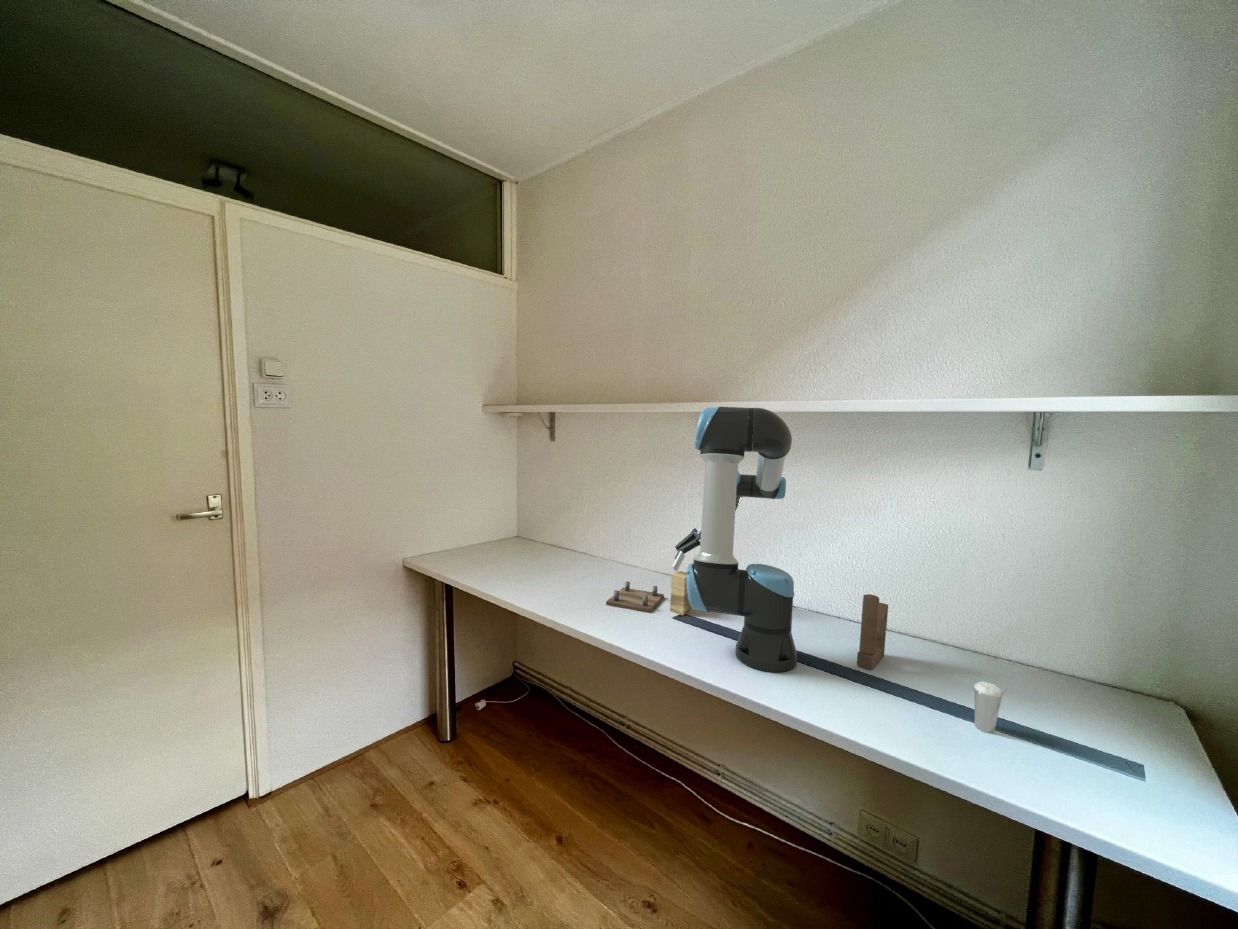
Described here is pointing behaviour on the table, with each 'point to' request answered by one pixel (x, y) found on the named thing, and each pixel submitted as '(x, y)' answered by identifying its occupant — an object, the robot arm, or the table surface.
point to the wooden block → (872, 632)
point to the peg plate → (635, 599)
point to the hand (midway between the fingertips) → (691, 574)
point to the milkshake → (987, 705)
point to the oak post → (679, 594)
